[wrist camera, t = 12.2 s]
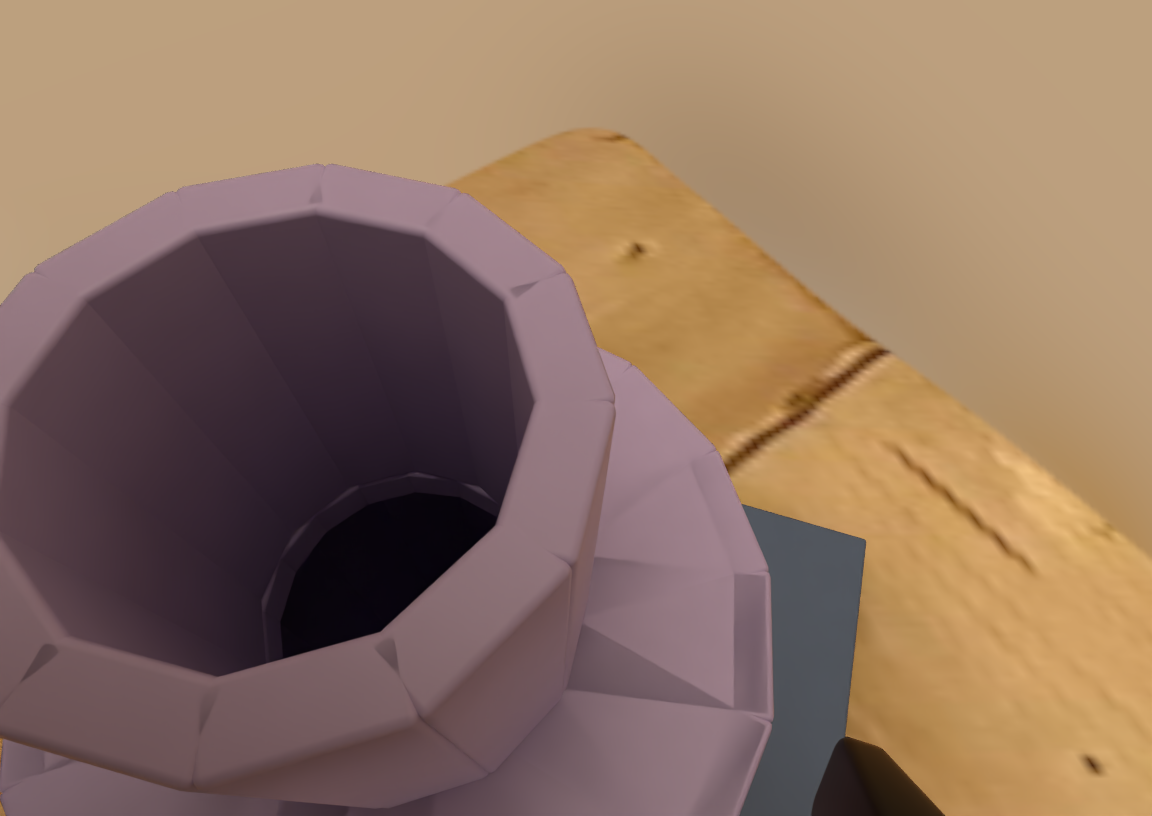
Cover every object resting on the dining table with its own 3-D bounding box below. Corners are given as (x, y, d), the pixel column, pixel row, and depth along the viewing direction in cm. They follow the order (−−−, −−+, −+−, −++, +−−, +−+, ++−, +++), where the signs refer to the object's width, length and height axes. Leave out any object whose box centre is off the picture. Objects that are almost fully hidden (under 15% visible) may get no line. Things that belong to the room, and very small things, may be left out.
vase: (693, 854, 14) (1361, 994, 2) (350, 974, 13) (-1385, 2257, 1) (594, 541, 17) (680, -56, 6) (311, 617, 16) (-320, 78, 4)
